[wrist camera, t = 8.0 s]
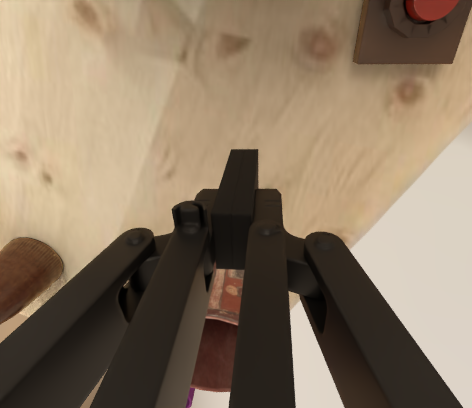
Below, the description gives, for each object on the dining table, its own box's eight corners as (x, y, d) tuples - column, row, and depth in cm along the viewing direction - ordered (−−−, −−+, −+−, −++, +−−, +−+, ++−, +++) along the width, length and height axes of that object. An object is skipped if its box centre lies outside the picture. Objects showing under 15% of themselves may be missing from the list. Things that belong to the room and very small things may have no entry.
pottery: (241, 308, 59) (231, 407, 44) (164, 270, 56) (123, 363, 40) (295, 254, 50) (306, 354, 35) (207, 205, 47) (176, 292, 32)
